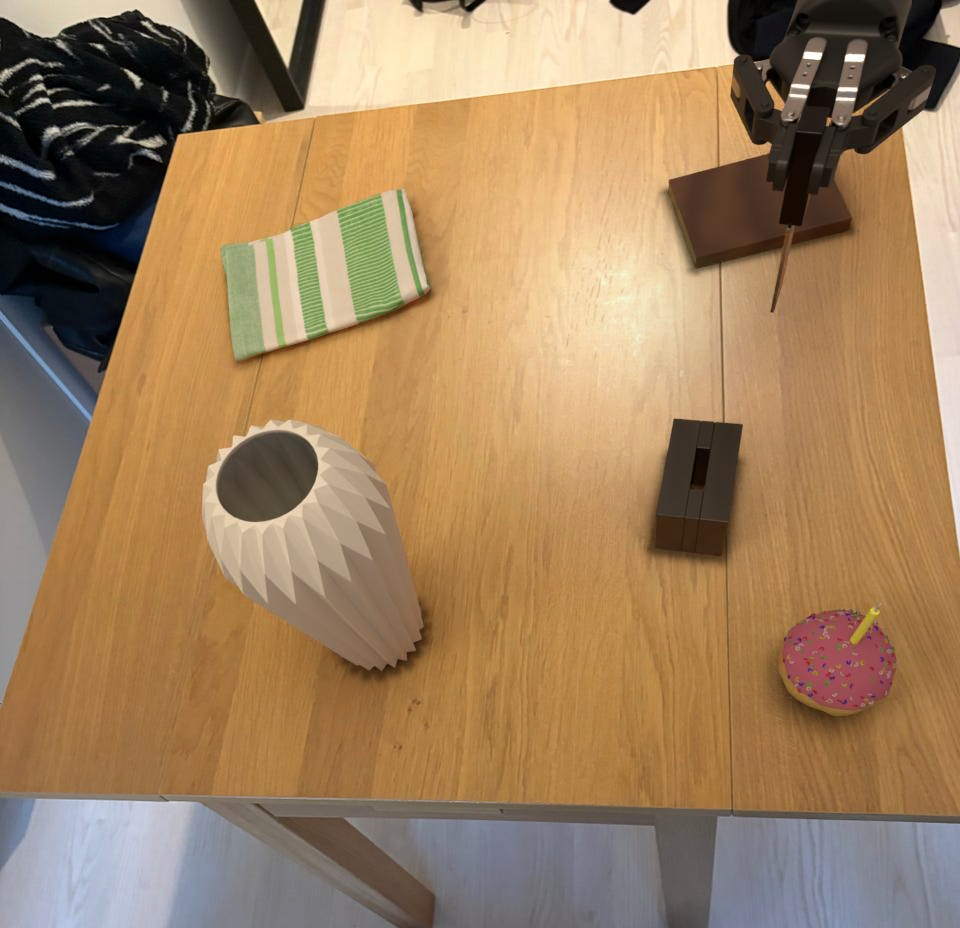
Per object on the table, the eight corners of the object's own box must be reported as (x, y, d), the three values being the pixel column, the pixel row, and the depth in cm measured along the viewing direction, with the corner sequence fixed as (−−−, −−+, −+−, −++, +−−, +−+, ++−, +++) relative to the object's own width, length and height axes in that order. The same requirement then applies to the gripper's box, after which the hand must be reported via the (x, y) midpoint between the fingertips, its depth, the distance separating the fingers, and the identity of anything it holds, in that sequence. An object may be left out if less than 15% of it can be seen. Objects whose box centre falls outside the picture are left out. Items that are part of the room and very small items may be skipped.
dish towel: (226, 256, 100) (216, 238, 98) (409, 199, 98) (403, 179, 96) (239, 366, 93) (228, 349, 91) (436, 306, 91) (431, 287, 89)
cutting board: (813, 153, 90) (816, 140, 89) (849, 230, 85) (852, 218, 84) (668, 191, 92) (668, 179, 90) (695, 268, 87) (696, 257, 85)
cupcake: (815, 614, 70) (848, 547, 59) (903, 676, 67) (955, 618, 56) (750, 684, 69) (771, 629, 58) (836, 751, 66) (875, 706, 55)
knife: (791, 285, 65) (831, 103, 52) (782, 314, 65) (820, 137, 51) (770, 282, 66) (805, 101, 52) (761, 311, 65) (794, 134, 51)
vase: (427, 712, 73) (324, 582, 49) (295, 682, 77) (139, 547, 53) (468, 580, 78) (391, 402, 54) (341, 557, 81) (216, 381, 57)
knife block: (735, 462, 77) (743, 423, 72) (721, 556, 74) (728, 522, 68) (671, 456, 79) (673, 417, 73) (654, 548, 75) (656, 514, 70)
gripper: (761, -60, 56) (693, 117, 51) (980, -57, 52) (931, 136, 47) (747, 52, 63) (687, 218, 58) (940, 63, 59) (894, 242, 54)
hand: (797, 180), depth 53 cm, fingers closed on knife, 1 cm apart
